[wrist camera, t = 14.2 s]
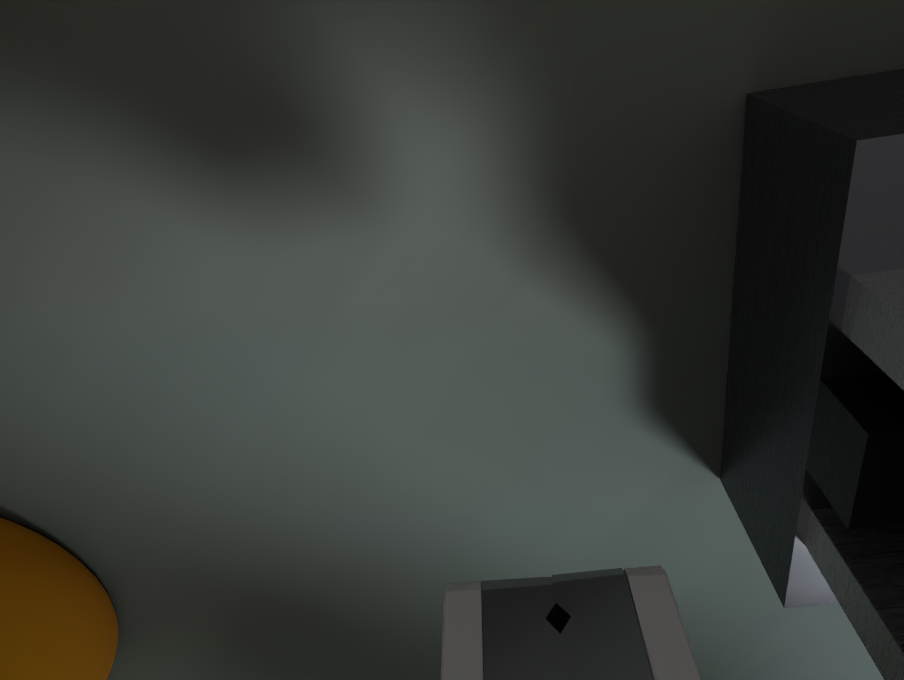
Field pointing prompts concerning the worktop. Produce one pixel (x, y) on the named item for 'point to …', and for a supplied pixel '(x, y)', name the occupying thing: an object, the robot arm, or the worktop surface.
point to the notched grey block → (874, 548)
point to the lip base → (813, 321)
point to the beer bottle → (51, 612)
